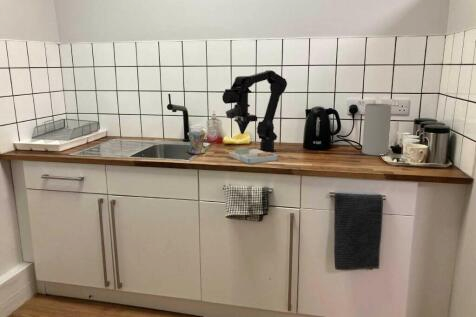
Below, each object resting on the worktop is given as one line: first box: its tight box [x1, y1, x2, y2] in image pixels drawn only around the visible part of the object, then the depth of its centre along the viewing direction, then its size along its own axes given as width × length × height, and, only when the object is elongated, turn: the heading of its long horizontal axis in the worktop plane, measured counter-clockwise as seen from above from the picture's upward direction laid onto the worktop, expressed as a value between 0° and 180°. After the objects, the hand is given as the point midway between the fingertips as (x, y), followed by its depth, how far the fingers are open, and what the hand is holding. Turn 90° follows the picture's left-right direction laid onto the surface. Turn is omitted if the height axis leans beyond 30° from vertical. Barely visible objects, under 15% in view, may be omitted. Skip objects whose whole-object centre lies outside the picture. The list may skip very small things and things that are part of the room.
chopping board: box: [228, 148, 264, 161], centre depth 200 cm, size 16×11×2 cm
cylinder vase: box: [361, 103, 393, 157], centre depth 203 cm, size 12×12×25 cm
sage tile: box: [234, 146, 250, 155], centre depth 198 cm, size 5×5×2 cm
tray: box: [238, 152, 279, 165], centre depth 191 cm, size 16×9×2 cm, turn 118°
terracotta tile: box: [258, 152, 273, 157], centre depth 194 cm, size 5×5×2 cm
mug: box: [187, 131, 206, 155], centre depth 206 cm, size 12×9×11 cm
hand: (242, 133), depth 199 cm, fingers closed
